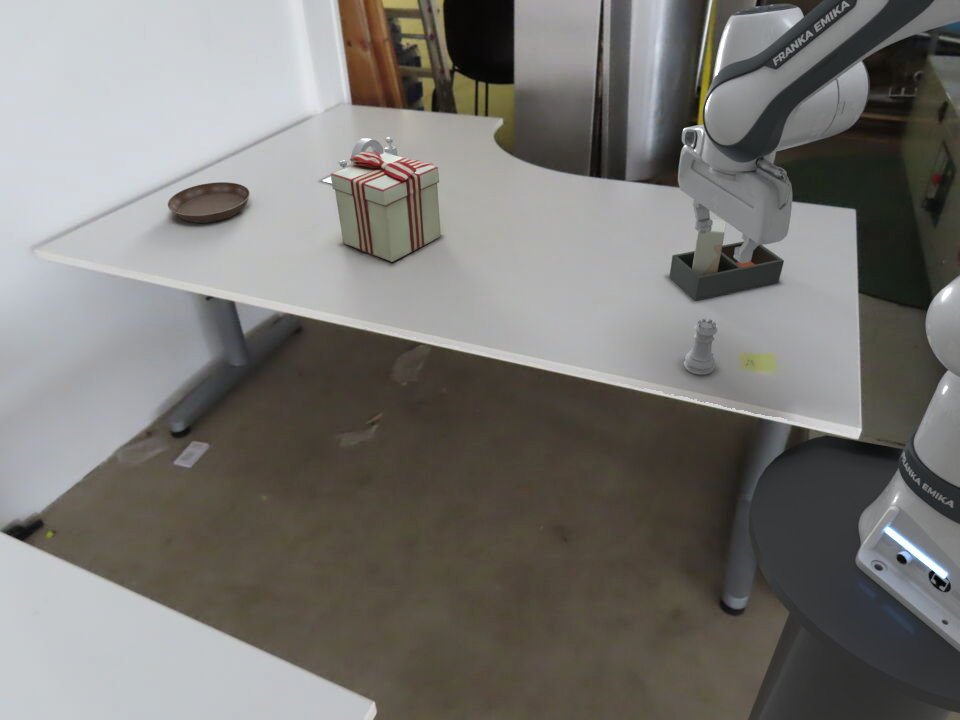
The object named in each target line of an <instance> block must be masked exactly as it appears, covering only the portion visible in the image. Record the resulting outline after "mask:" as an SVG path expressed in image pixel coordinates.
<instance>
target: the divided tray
mask: <svg viewBox="0 0 960 720" xmlns="http://www.w3.org/2000/svg"><path fill="white" fill-rule="evenodd" d="M743 243H744V240H742V241H739V242H734V243H733V242H732V243H729V244H723V245H722V250H721V255H720V261H719V266H718V271H717V273H712V274H708V275H703V276H699V275H698V274H697V273H696V272H695V271H694V270H692V266H693V260H694V254H695V250H692V251H688V252H683V253H678V254H672V256H671V262H670V269H669V279H671V280H672V281H673V282H674V283H675V284H676V285H677V286H678V287H679V288H680V289H681V290H682V291H684V293H686V294H687V295H688V296H689V297H690V298H691V299H692V300H693V301H701V300H705V299H711V298H714V297H719V296H724V295H729V294H733V293H738V292H743V291H747V290H752V289H757V288H761V287H766V286H770V285H774V284H775V285H777V284H779V283H780V279H781V275H782V271H783V267H784V262H785V260H784V259H782V258H781V257H780V256H778V255H777V254H776V253H774V252H773V251H771V250H770V249H768V248H767V247H765V245H758V246H757V247H756V248H755V250H753V254H752V259H751V261H750V262H747V263H742V264H741V263H739V262H738V261H737V260H736V259H734V257H733V256H734V254H735V253H734V251H735V247H741V246H742V244H743Z"/></svg>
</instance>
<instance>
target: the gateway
mask: <svg viewBox="0 0 960 720" xmlns="http://www.w3.org/2000/svg"><path fill="white" fill-rule="evenodd" d="M384 141H385V142H386V144H388V146H386V147H385V148H383V146H382V143H380V142H379V141H378V140H376V139H372V138H366V137H365V138H360V139H359V140H358V141H357V142H356V143H355V145H354V147H353V149H352V151H351V155H350V158H352V157H354V156H356V155H358V154H359V153H361V152H366V150H367V149H368V148H369V147H370V148H371V152H372V153H375V152H377V151H378V153H379V155H381V154H383V153H388V154H391V155H395V156H398V149H397V147H396V146H392V145H391V144H393V142H394V137H390V136H388V137H386V138H385V139H384ZM350 162H351V166H352V165H354V162H353V161H350ZM338 164H339V166H340V167H341V168H342V169H345V168H347V165H348V161H347V160H345V159H342V160H340V161H339V162H338ZM322 182H324V183H328V184H331V185H332V181H331V176H329V177H326V178H325V179H323V180H322Z"/></svg>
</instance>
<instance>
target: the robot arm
mask: <svg viewBox="0 0 960 720" xmlns="http://www.w3.org/2000/svg"><path fill="white" fill-rule="evenodd" d="M959 22H960V0H822V1H821V2H819V4H818V5H816V6H815V7H814V8H812V10H810V11H809V12H807V14H805V16H804V13H803V10H802V9H801V8H800V7H799V6H797V5H794V4H792V3H773V4H767V5H766V4H765V5H758V6H752V7H747V8H746V7H745V8H742V9H740V10H737V11H736V12H734V13H733V14H731V15H730V16H729V18H728V20H727V21H726V24H725V26H724V29H723V31H722V34H721V37H720V40H719V44H718V49H717V54H716V58H715V63H714V69H713V75H712V82H711V84H710V85H709V88H708V90H707V92H706V95H705V98H704V102H703V106H702V124H697V125H692V126H688V127H684V128H683V129H682V132H681V142H682V144H683V147H682V148H681V151H680V157H679V164H678V173H677V183H678V186H679V189H680V191H681V192H683V193H684V194H686V195H687V196H689V197H690V198H691V199H693V201H692V207H693V212H694V217H695V225H694V229H695V230H696V231H697V233H698V232H700V233H701V234H704V233H709V232H710V231H711V229H712V227H711V226H712V223H713V221H712V220H713V219H711V214H710V212H711V213H713V214H714V215H716V216H717V217H718V218H720V220H722V221H726V224H729V225H730V226H731V227H733V228H735V229H736V230H737V231H739V232H740V233H741V234H742V236H741V240H742V241H744V243H743V244H742V246H741V247H735V251H734V253H735V254H734V256H733V257H734V259H736V260H737V261H738V262H739V263H741V264H742V263H747V262H750V261H751V259H752V254H753V250H755V248H756V247H757V246H758V245H763V246H765V245H771V244H775V243H779V242H781V241H782V240H784V239H785V238H786V237H787V236H788V233H789V230H790V223H791V218H792V217H791V216H792V208H793V188H792V187H793V186H792V182H791V181H790V179H789V177H788V175H787V174H788V172H787V171H786V170H785V169H784V168H783V167H781V166H777V165H776V164H774V163H775V159H776V154H777V152H780V151H783V150H787V149H790V148H795V147H799V146H803V145H806V144H810V143H813V142H816V141H820V140H823V139H824V140H825V139H827V138H830V137H833V136H836V135H838V134H841V133H843V132H846V131H848V130H849V129H851V128H852V127H853V126H854V125H855V124H856V123H857V122H859V120H860V118H861V117H862V115H863V113H864V112H865V109H866V107H867V105H868V101H869V97H870V89H871V83H870V76H869V72H868V69H867V66H866V64H865V62H864V61H863V60H865V59H867V58H868V57H870V56H871V55H873V54H875V53H876V52H878V51H880V50H882V49H884V48H886V47H888V46H890V45H892V44H895V43H897V42H899V41H902V40H904V39H906V38H909V37H912V36H915V35H917V34H921V33H924V32H926V31H931V30H934V29H937V28H941V27H944V26H948V25H950V24H955V23H959ZM925 332H926V338H927V341H928V344H929V346H930V348H931V350H932V352H933V354H934V356H935V357H936V358H937V360H938V361H939V362H940V363H941V365H942V366H944V368H945V369H947V371H946V372H945V373H944V374H943V375H942V377H941V379H940V380H939V382H938V384H937V386H936V388H935V391H934V393H933V395H932V397H931V399H930V401H929V403H928V406H927V408H926V411H925V413H924V414H923V417H922V420H921V421H920V424H919V425H918V426H917V428H915V429H913V431H912V432H911V433H910V435H909V437H908V439H907V441H906V443H905V445H904V447H903V448H902V449H903V451H902V453H901V456H900V458H899V463H898V465H899V468H898V470H897V472H896V473H895V475H894V476H893V478H892V480H891V481H890V483H889V484H888V485H887V487H886V488H885V489H884V491H883V492H882V493H881V495H880V496H879V497H878V498H877V499H876V500H875V501H874V502H873V503H872V504H871V505H869V506H868V507H867V508H866V509H865V510H864V511H863V513H862V514H861V517H860V519H859V527H858V529H859V536H860V542H861V546H860V548H859V550H858V552H857V555H856V559H855V562H856V565H857V566H858V567H859V568H860V569H861V570H862V571H863V572H864V573H865V574H867V575H868V576H869V577H870V578H871V579H873V580H874V581H875V582H876V583H877V584H879V585H880V586H881V587H882V588H883V589H885V590H886V591H887V592H888V593H889V594H891V595H892V596H893V597H894V598H895V599H897V600H898V601H899V602H900V603H901V604H903V605H904V606H905V607H906V608H907V609H909V610H910V611H911V612H912V613H913V614H915V615H916V616H917V617H918V618H919V619H921V620H922V621H923V622H924V623H926V624H927V625H928V626H929V627H930V628H932V629H933V630H934V631H935V632H936V633H938V634H939V635H940V636H941V637H942V638H944V639H945V640H946V641H947V642H948V643H950V644H951V645H952V646H953V647H954V648H956V649H957V650H958V651H959V652H960V274H959V275H958V276H957V277H955V278H954V279H953V280H952V281H950V282H949V283H948V284H947V285H945V286H944V287H943V288H942V289H941V290H940V291H939V292H938V293H937V294H936V295H935V296H934V297H933V299H932V300H931V302H930V303H929V306H928V308H927V311H926V317H925ZM875 568H876V569H878V570H880V571H878V570H876V569H875Z"/></svg>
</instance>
